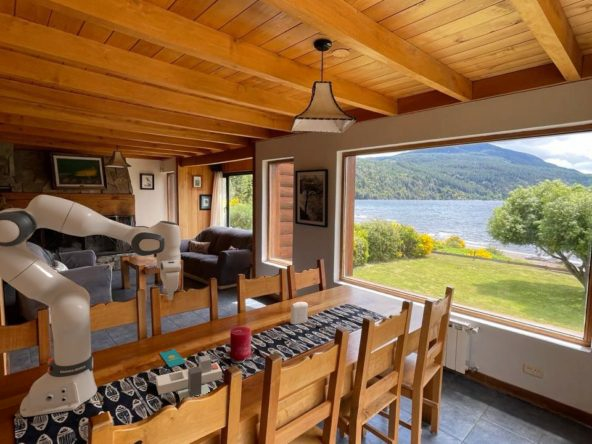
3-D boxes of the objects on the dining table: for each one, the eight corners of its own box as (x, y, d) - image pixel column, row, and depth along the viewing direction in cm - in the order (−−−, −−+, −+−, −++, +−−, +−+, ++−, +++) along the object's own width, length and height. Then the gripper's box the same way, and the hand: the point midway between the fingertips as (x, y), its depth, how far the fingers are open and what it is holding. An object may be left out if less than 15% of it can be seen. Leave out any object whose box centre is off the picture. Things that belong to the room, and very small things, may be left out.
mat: (181, 403, 121) (181, 402, 121) (177, 392, 127) (177, 391, 127) (211, 394, 127) (211, 394, 127) (206, 385, 133) (206, 384, 133)
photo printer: (304, 320, 201) (305, 299, 199) (308, 322, 197) (309, 302, 195) (289, 322, 196) (290, 301, 195) (292, 325, 192) (293, 304, 191)
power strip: (158, 394, 125) (158, 373, 124) (156, 384, 131) (156, 364, 130) (221, 378, 137) (222, 359, 136) (216, 370, 143) (217, 351, 142)
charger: (190, 397, 124) (190, 374, 123) (188, 391, 128) (188, 368, 127) (201, 394, 126) (201, 371, 125) (198, 388, 130) (199, 366, 129)
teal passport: (169, 367, 143) (158, 352, 155) (169, 369, 143) (158, 354, 155) (186, 362, 148) (174, 348, 159) (186, 364, 148) (174, 350, 159)
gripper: (156, 256, 141) (156, 289, 142) (163, 268, 123) (163, 305, 124) (172, 256, 144) (172, 287, 145) (181, 267, 126) (181, 303, 128)
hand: (168, 295), depth 135 cm, fingers open, 8 cm apart
